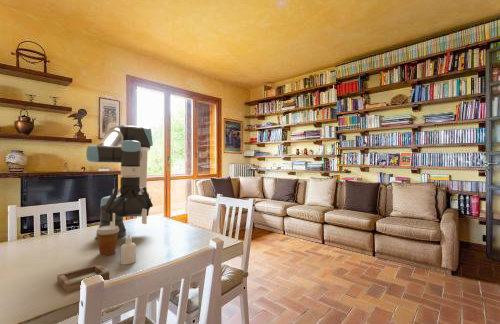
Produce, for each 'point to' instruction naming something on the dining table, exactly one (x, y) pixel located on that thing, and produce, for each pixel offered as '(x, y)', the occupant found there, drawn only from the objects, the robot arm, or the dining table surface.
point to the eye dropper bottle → (128, 251)
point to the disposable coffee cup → (107, 239)
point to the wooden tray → (80, 277)
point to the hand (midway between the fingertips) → (129, 226)
